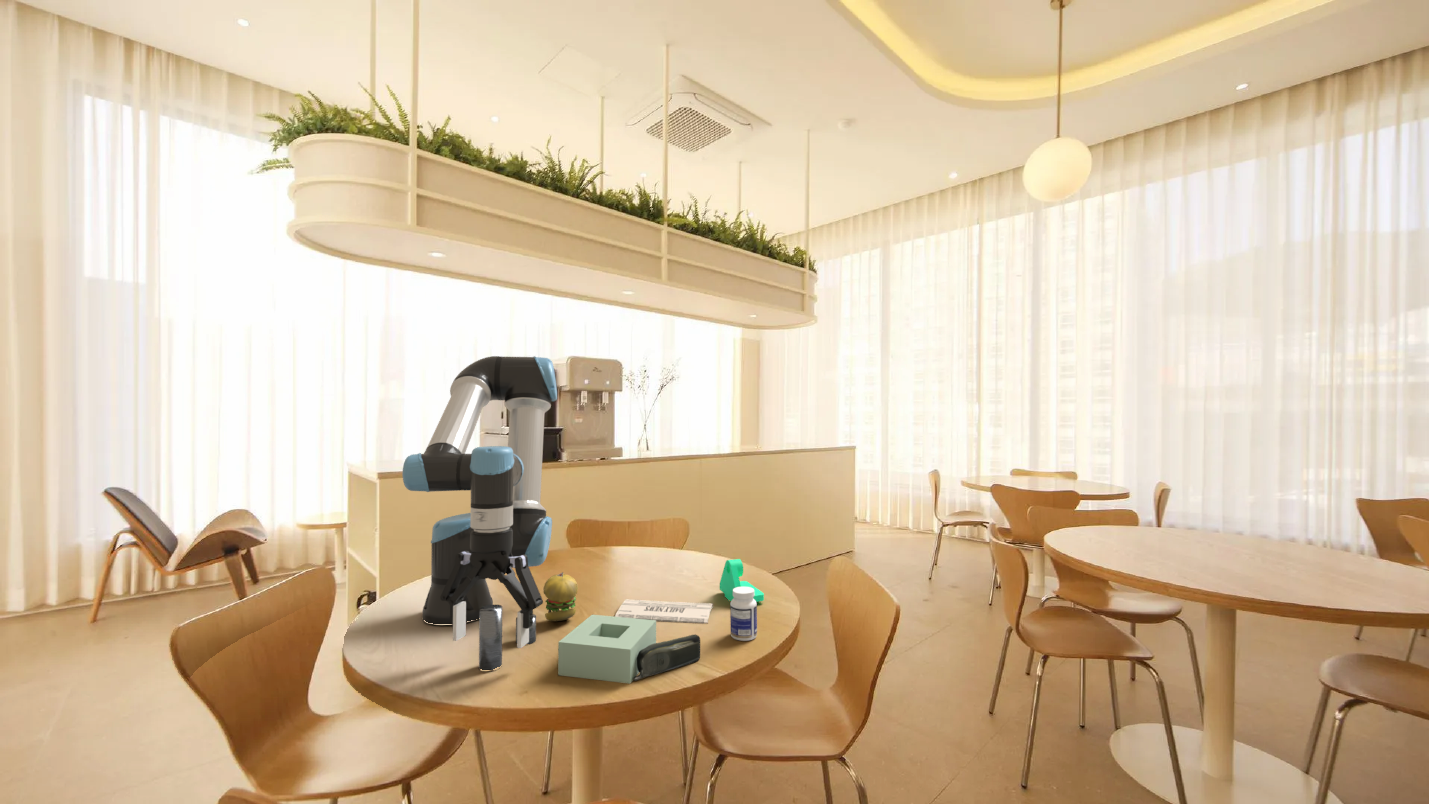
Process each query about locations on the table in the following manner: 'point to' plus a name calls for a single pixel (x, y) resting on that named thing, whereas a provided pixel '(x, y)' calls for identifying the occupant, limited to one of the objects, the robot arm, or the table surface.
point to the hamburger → (560, 597)
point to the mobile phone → (667, 655)
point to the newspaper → (665, 611)
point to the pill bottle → (743, 614)
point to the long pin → (490, 637)
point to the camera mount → (736, 580)
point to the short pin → (530, 631)
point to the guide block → (605, 648)
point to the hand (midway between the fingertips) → (490, 641)
